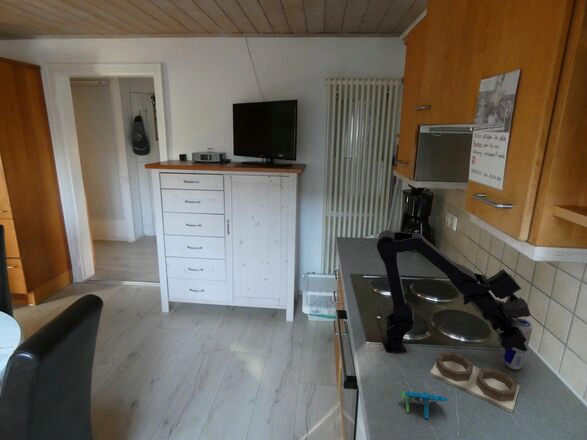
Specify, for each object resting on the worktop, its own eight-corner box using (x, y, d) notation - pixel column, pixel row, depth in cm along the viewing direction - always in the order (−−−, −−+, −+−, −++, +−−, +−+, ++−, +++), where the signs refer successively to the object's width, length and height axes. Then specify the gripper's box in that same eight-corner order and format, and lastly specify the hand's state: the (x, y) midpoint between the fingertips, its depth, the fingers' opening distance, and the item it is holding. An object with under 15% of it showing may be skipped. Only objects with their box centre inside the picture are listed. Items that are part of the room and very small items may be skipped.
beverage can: (513, 358, 107) (523, 316, 103) (526, 370, 102) (537, 326, 98) (498, 360, 106) (508, 317, 102) (511, 372, 101) (521, 328, 97)
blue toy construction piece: (446, 396, 92) (447, 393, 83) (447, 421, 89) (449, 421, 81) (402, 390, 96) (399, 387, 87) (402, 414, 93) (399, 413, 85)
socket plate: (429, 374, 101) (430, 365, 100) (441, 355, 109) (443, 346, 108) (512, 413, 88) (514, 402, 87) (519, 388, 96) (521, 377, 95)
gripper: (525, 308, 89) (564, 352, 90) (504, 277, 107) (537, 314, 107) (485, 329, 94) (523, 371, 94) (472, 295, 111) (504, 331, 111)
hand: (522, 344), depth 102 cm, fingers closed on beverage can, 5 cm apart
